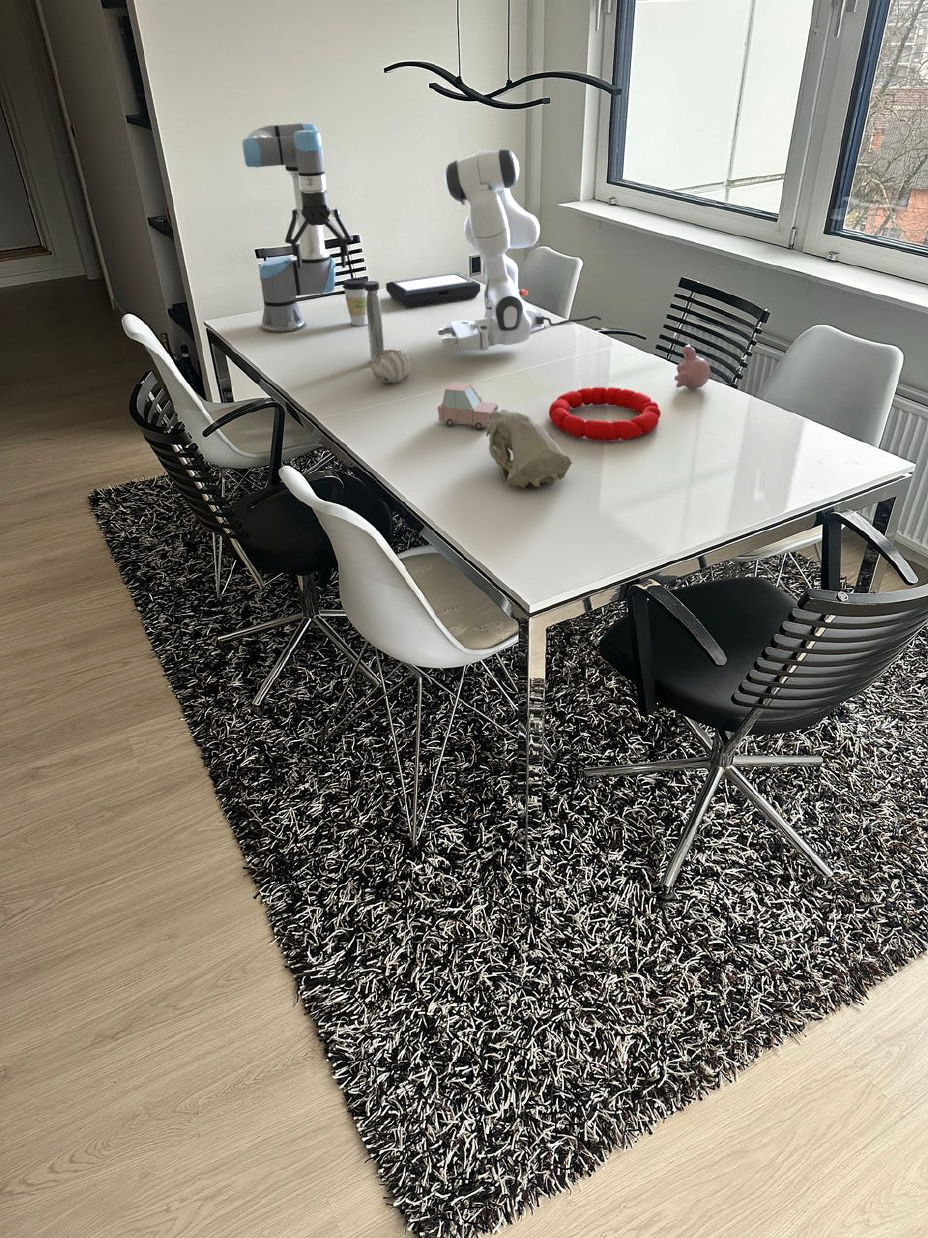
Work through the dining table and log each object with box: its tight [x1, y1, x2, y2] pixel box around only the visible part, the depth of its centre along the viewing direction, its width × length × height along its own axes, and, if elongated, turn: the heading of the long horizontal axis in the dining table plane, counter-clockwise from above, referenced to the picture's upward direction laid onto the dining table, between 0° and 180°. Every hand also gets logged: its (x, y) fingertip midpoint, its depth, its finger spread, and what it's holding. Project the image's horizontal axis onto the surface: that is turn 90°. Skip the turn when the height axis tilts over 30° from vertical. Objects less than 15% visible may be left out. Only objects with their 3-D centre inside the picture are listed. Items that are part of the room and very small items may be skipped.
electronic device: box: [385, 272, 481, 309], centre depth 351 cm, size 32×6×20 cm
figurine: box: [674, 344, 711, 390], centre depth 259 cm, size 9×11×12 cm
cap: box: [364, 280, 380, 292], centre depth 278 cm, size 4×4×2 cm
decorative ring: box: [548, 386, 661, 442], centre depth 242 cm, size 7×30×30 cm
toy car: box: [437, 382, 499, 431], centre depth 243 cm, size 9×15×10 cm, turn 70°
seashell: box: [371, 349, 411, 384], centre depth 271 cm, size 10×15×10 cm
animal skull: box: [485, 409, 573, 489], centre depth 216 cm, size 17×25×20 cm
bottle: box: [366, 290, 385, 363], centre depth 285 cm, size 4×4×24 cm
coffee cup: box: [342, 277, 369, 327], centre depth 323 cm, size 10×10×15 cm
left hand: (322, 267), depth 272 cm, fingers open, 13 cm apart
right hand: (440, 336), depth 290 cm, fingers open, 8 cm apart
